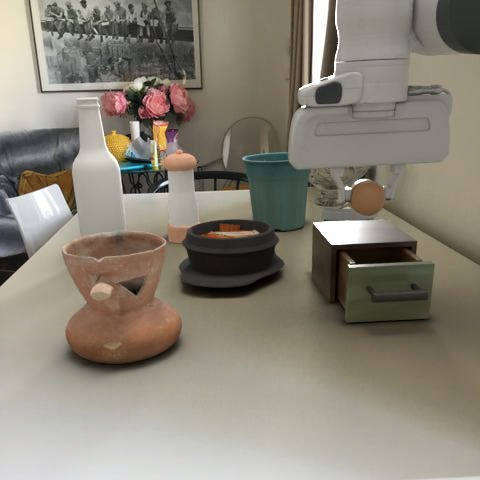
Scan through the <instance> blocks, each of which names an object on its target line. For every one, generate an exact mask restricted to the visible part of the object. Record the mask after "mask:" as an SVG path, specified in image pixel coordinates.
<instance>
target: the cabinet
mask: <svg viewBox="0 0 480 480" xmlns="http://www.w3.org/2000/svg"><path fill="white" fill-rule="evenodd" d="M311 240H312V241H311V242H312V243H311V244H312V245H311V278H312V280H313V282H314V283H315V285H316V287H317V289H318V290H319V292H320V294H321V295H323V296H325V298H326V300H327V302H328V303H329V304H341V302H340V301H339V299H338V298H337V296H336V295H335V280H336V253H337V250H344V249H366V248H387V247H406V248H408V249H409V250H410V251H411V252H413V253H414V254H415V255H417V252H418V251H417V250H418V240H417V239H416V238H415V237H413V236H411V235H410V234H408V233H407V232H405V231H404V230H403V229H401V228H399V227H398V226H397V225H396V224H395V223H392V222H391V221H390V220H388V219H373V220H361V221H339V222H324V221H319V222H318V221H317V222H312V239H311Z"/></svg>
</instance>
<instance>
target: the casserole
mask: <svg viewBox="0 0 480 480" xmlns="http://www.w3.org/2000/svg"><path fill="white" fill-rule="evenodd" d="M279 242H280V237H279V236H278V235H277V234H276V233H275V230H274V229H273V226H271V225H270V224H267V223H264V222H260V221H254V220H253V219H238V218H237V219H236V218H235V219H233V218H232V219H218V220H209V221H205V222H200V224H197V225H194V226H192V227H190V228H189V229H188V230H187V234H186V237H185V239H184V240H183V241H182V243H181V245H182V247H184V248H185V250H186V253H187V257H186V258H185V259H183V260H182V261H181V262H180V263H179V264H178V269H179V271H180V273H181V275H180V276H181V278H180V279H181V281H182V282H183V283H185V284H186V285H191V286H194V287H202V288H212V289H227V288H228V289H231V288H241V287H246V286H248V285H251V284H253V283H255V282H256V281H258V280H260V279H263V278H265V277H269V276H271V275H274V274H276V273H277V272H279V271H280V270H282V268H283V267H285V266H284V265H285V262H284V260H283V259H282V257H280V256H279V255H278V254H277V252H276V246H277V245H278V244H279Z"/></svg>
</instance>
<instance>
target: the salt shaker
mask: <svg viewBox="0 0 480 480" xmlns="http://www.w3.org/2000/svg"><path fill="white" fill-rule="evenodd" d="M162 163H163V164H162V166H163V168H164V170H166V171H167V182H168V199H167V215H168V224H167V235H168V236H167V237H168V242H170V243H173V244H182V241H183V240H184V239H185V237H186V234H187V230H188V229H189V228H190V227H192V226H194V225H197V224H200V223H201V222H200V218H199V217H200V216H199V205H198V204H199V203H198V200H197V193H196V191H195V189H196V188H195V176H194V175H195V174H194V169H196V167H197V159H196V157H195V156H194V155H192V154H190V153H185V152H184V151H183V150H182V149H176V150H175V152H174V153H171V154H168V155H167V156H165V158H164V159H163V161H162Z"/></svg>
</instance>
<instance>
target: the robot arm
mask: <svg viewBox="0 0 480 480" xmlns="http://www.w3.org/2000/svg"><path fill="white" fill-rule="evenodd" d="M335 27H336V30H337V38H338V42H337V43H338V44H337V50H336V53H335V57H334V72H333V75H330V76H328V77H327V76H325V77H322V78H320V79H318V80H317V81H315V82H312V83H309V84H306V85H303V86H302V87H300V88H299V89H298V91H297V102H298V104H299V105H300V106H301V107H299V108H298V109H297V110H295V112H294V113H293V115H292V118H291V122H290V127H289V135H288V144H287V145H288V147H287V152H288V160H289V162H290V164H291V165H292V166H293V167H294V168H296V169H298V170H303V169H311V170H319V169H320V170H321V169H329V176H330V177H331V179H332V181H333V183H334V184H335V186H336V188H337V202H338V203H339V204H347V203H348V202H351V195H352V189H351V188H350V187H351V186H345V184H344V183H343V180H342V179H341V177H344V176H345V168H358V167H376V166H377V167H378V166H379V167H380V166H389V171H390V172H392V174H391V176H390V177H389V180H388V181H387V183H386V184H381V185H380V186H381V187H382V188H383V189H384V192H385V196H386V200H385V201H395V199H396V188H397V186H398V185H399V184H400V182H401V181H402V179H403V178H404V176H405V174H406V169H407V165H415V164H416V165H417V164H433V163H434V164H435V163H443V162H444V161H445V160H446V158H447V157H448V156H449V154H450V150H451V149H450V148H451V131H450V129H451V128H450V117H451V115H452V110H453V95H452V93H451V91H449V90H448V89H447V88H445V87H443V85H441V84H431V85H421V84H420V85H419V84H418V85H409V78H410V60H411V53H414V54H417V55H420V56H425V57H433V56H451V55H460V54H465V55H476V56H477V55H479V56H480V0H336V1H335ZM348 204H349V203H348Z"/></svg>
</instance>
